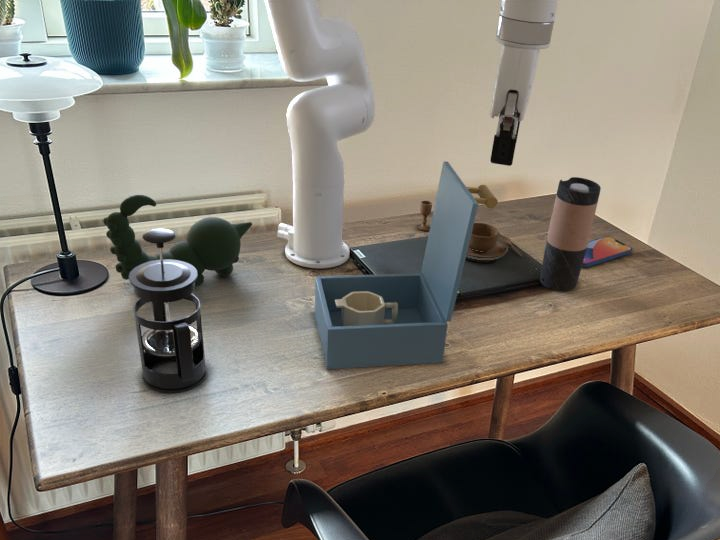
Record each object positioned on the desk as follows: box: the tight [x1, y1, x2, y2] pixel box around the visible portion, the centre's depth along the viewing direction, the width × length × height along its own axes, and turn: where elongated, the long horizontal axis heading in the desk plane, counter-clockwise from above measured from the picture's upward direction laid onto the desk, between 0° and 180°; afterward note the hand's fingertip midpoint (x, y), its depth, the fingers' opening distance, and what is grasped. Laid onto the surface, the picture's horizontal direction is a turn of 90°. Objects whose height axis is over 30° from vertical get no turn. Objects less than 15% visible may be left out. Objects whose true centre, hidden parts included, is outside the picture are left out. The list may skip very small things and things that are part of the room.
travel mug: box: [539, 176, 602, 292], centre depth 138 cm, size 8×8×20 cm
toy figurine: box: [102, 194, 253, 287], centre depth 128 cm, size 9×19×25 cm
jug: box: [335, 291, 398, 326], centre depth 120 cm, size 10×7×6 cm, turn 102°
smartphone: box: [582, 235, 633, 268], centre depth 155 cm, size 7×15×1 cm, turn 124°
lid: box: [421, 160, 499, 323], centre depth 116 cm, size 19×17×6 cm
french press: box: [128, 228, 208, 394], centre depth 103 cm, size 12×9×23 cm
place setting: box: [416, 200, 523, 263], centre depth 154 cm, size 18×20×6 cm
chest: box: [314, 272, 449, 370], centre depth 121 cm, size 19×17×7 cm
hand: (503, 152), depth 111 cm, fingers open, 9 cm apart
